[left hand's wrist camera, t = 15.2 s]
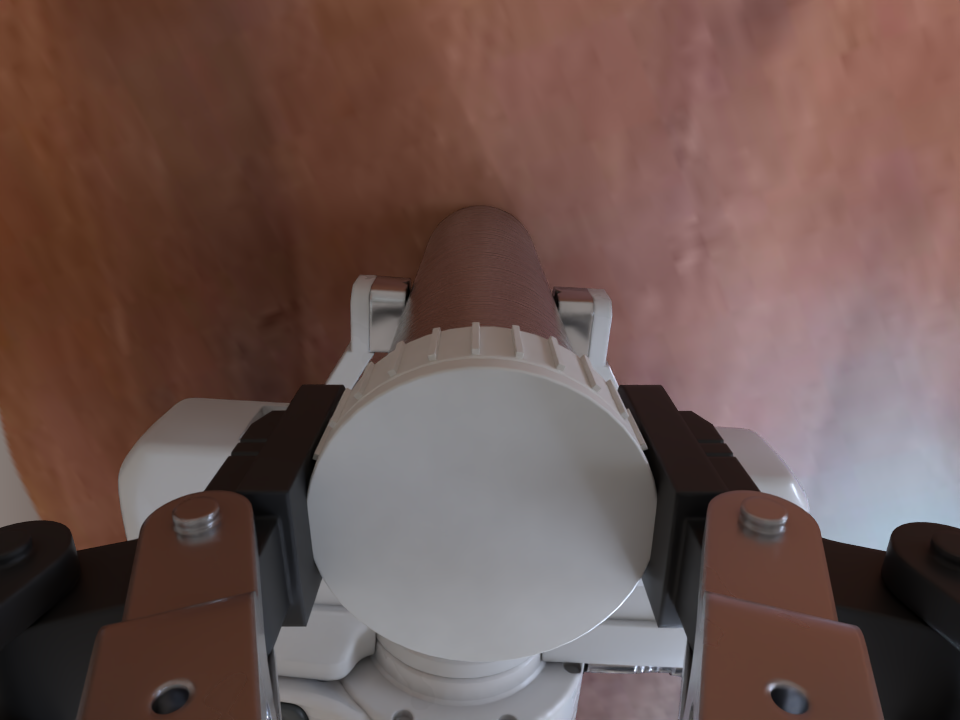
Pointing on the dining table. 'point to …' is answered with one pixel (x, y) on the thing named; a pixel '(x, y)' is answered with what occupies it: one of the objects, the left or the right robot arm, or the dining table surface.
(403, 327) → the jar
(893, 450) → the dining table surface
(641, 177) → the dining table surface
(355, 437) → the lid
